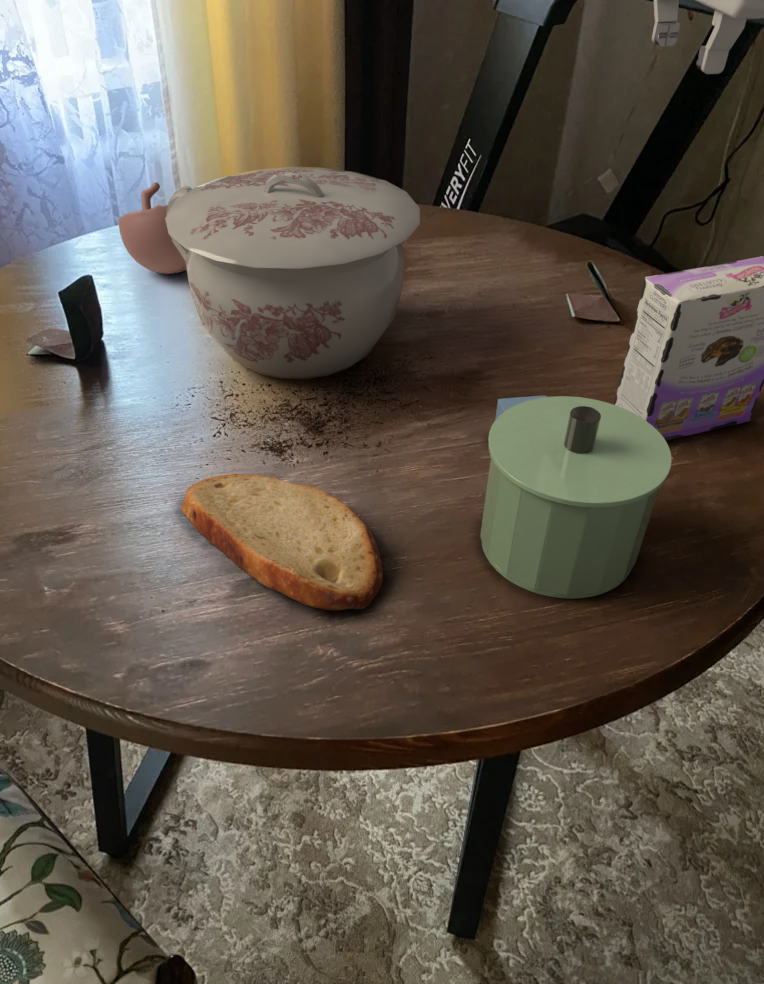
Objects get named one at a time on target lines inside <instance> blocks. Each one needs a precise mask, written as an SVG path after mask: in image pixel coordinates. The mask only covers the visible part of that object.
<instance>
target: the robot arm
mask: <svg viewBox="0 0 764 984" xmlns="http://www.w3.org/2000/svg"><path fill="white" fill-rule="evenodd" d="M694 1H695V2H697V3H699V4H701V5H703V6H705V7H708V8H710V9H712V10H714V12H713V17H712V21H711V25H712V26H713V29H712V31H711V34H710V36H709V38H708V40H707V42H706V45H701V46H700V47H699V52H698V59H697V60H696V64H695V65H696V69H698V70H699V71H701V72H702V73H704V74H705V75H719V74H721V73H722V72H724V69H725V67H726V64H727V61H728V56H729V52H730V50H732V48H733V46H734V44H735V43H736V41H737V40H738V39H739V37H740V35H741V34H742V32H743V31H744V29H745V26H746V23H747V20H756V19H764V0H694ZM679 3H680V0H653V14H654V15H653V16H654V25H653V30H652V35H651V42H652V43H653V44H655V45H657V46H659V47H661V48H664V47H673V46H675V44H676V43H677V42H678V34H679V33H680V27H681V23H680V22H678V16H679Z"/></svg>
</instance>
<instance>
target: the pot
mask: <svg viewBox="0 0 764 984" xmlns="http://www.w3.org/2000/svg"><path fill="white" fill-rule="evenodd" d="M659 490H660V488H659V489H658V490H657V491H655V492H654V493H652V494H651V495H649V496H647V497H645V498H644V499H641V500H639V501H636V502H633V503H630V504H625V505H621V506H614V507H600V508H593V507H579V506H571V505H566V504H561V503H557V502H554V501H550V500H547V499H544V498H541V497H539V496H536V495H534V494H532V493H530V492H528V491H526V490H524V489H522V488H521V487H519V486H517V485H516V484H514V483H513V482H512V481H510V480H509V479H508V478H506V477H505V476H504V475H503V474H502V473H501V472H500V470H499V469H498V468H497V467H496V465H495V464H494V462H493V460H492V458H491V457H490V462H489V469H488V477H487V484H486V491H485V499H484V505H483V513H482V519H481V520H482V521H481V528H480V534H479V537H480V541H481V542H480V544H481V548H482V551H483V552H484V556H485V557H486V559H487V560H488V562H489V564H490V565H491V566H492V567H493V568H494V570H495V571H496V572H497V573H499V574H500V575H501V577H503V578H504V579H506V580H507V581H509V582H510V583H512V584H514V585H516V586H518V587H520V588H521V589H524V590H526V591H529V592H531V593H534V594H537V595H539V596H540V595H541V596H545V597H549V598H550V597H551V598H556V599H569V600H570V599H571V600H574V599H585V598H586V599H587V598H592V597H595V596H599V595H603V594H606V593H607V592H610V591H612V590H614V589H615V588H617V587H618V586H619V585H621V584H622V583H623V582H624V581H625V580H626V579H627V578H628V577H629V575H630V573H631V572H632V570H633V568H634V566H635V564H636V562H637V560H638V557H639V553H640V550H641V547H642V543H643V540H644V537H645V534H646V531H647V528H648V525H649V522H650V518H651V515H652V512H653V509H654V505H655V502H656V500H657V496H658V494H659Z"/></svg>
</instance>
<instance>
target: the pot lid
mask: <svg viewBox="0 0 764 984" xmlns="http://www.w3.org/2000/svg"><path fill="white" fill-rule="evenodd" d="M487 448H488V453H489V456H490V459H491V458H492V460H493V462H494V464H495V465H496V467H497V468H498V469H499V470H500V472H501V473H502V474H503V475H504V476H505V477H506V478H508V479H509V480H510V481H512V482H513V483H514V484H516V485H517V486H519V487H521V488H522V489H524V490H526V491H528V492H530V493H532V494H534V495H536V496H539V497H541V498H544V499H547V500H550V501H554V502H557V503H561V504H566V505H571V506H579V507H593V508H600V507H614V506H621V505H625V504H630V503H633V502H636V501H639V500H641V499H644V498H645V497H647V496H649V495H651V494H652V493H654V492H655V491H657V490H658V489H659V490H660V488H661V487H662V486H663V485H664V484H665V482H666V481H667V479H668V477H669V474H670V472H671V469H672V463H673V459H672V452H671V449H670V446H669V444H668V442H667V440H666V441H665V439H664V437H663V436H662V435H661V434H660V433H659V431H658V430H657V429H655V428H654V427H653V426H652V425H651V424H650V423H648V422H647V421H646V420H644V419H643V418H641V417H639V416H638V415H636V414H634V413H632V412H630V411H628V410H626V409H624V408H621V407H619V406H616V405H614V403H609V402H607V401H602V400H599V399H598V400H597V399H595V398H588V397H583V396H582V397H581V396H573V395H572V396H571V395H569V396H568V395H566V396H565V395H557V396H554V395H553V396H547V397H543V398H537V399H532V400H529V401H525V402H522V403H520V404H517V405H515V406H513V407H511V408H509V409H508V410H506V411H505V412H503V413H502V414H501V415H500V416H499V417H498V418H497V419H496V420H495V419H494V422H493V423H492V425H491V426H490V430H489V431H488V439H487ZM659 490H658V491H659Z"/></svg>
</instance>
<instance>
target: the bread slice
mask: <svg viewBox="0 0 764 984" xmlns="http://www.w3.org/2000/svg"><path fill="white" fill-rule="evenodd" d="M183 499H184V500H183V502H182V504H181V508H180V509H181V512H182V515H184V517H186V518H187V520H188V521H189V522H190V524H191V525H192V526H193V527H194V529H195V530H196V532H197V533H198V534H200V535H201V536H203V537H204V538H205V540H206V541H207V542H208V543H209V544H211V545H214V546H215V548H217V550H218V551H219V552H221V553H222V554H224V555H225V556H226V557H227V558H228V559H229V560H230V561H231V562H232V563H234V564H235V565H236V566H237V567H238V568H240V569H241V570H242V571H243V572H245V573H246V574H247V575H248V576H251V578H253V579H255V580H256V581H257V582H258V583H260V585H262V586H264V587H266V588H268V589H269V590H273V591H276V592H279V593H280V594H282V595H284V596H286V597H288V598H289V599H292V600H294V601H296V602H297V603H300V604H302V605H303V606H304V605H305V606H307V607H311V608H314V609H318V610H327V611H345V610H346V611H347V610H363V609H365V608H367V607H369V606H370V605H371V603H372V601H373V600H374V599H375V597H376V596H377V594H378V593H379V591H380V589H381V588H382V585H383V582H384V573H383V564H382V559H381V555H380V551H379V547H378V543H377V541H376V538H375V537H374V535H373V534H372V531H371V530H370V529H369V528H368V526H367V525H366V523H365V522H364V521H363V520H362V519H361V518H360V517H359V516H358V514H357V513H356V512H355V511H354V510H352V509H351V508H350V507H349V506H348V505H347V504H345V503H344V502H342V501H341V500H340V499H339V498H337V497H335V496H332V495H331V494H330V493H328V492H326V491H324V490H321V489H318V487H314V486H311V485H305V484H296V483H293V482H290V481H285V480H282V479H280V478H279V477H274V476H267V475H262V474H244V473H243V474H242V473H231V474H222V475H221V474H220V475H216V476H212V477H207V478H204V479H202V480H200V481H198V482H196V483H193V484H192V485H191V486H190V487H189V488H188V489H187V491H186V492H185V496H184V498H183Z"/></svg>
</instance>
